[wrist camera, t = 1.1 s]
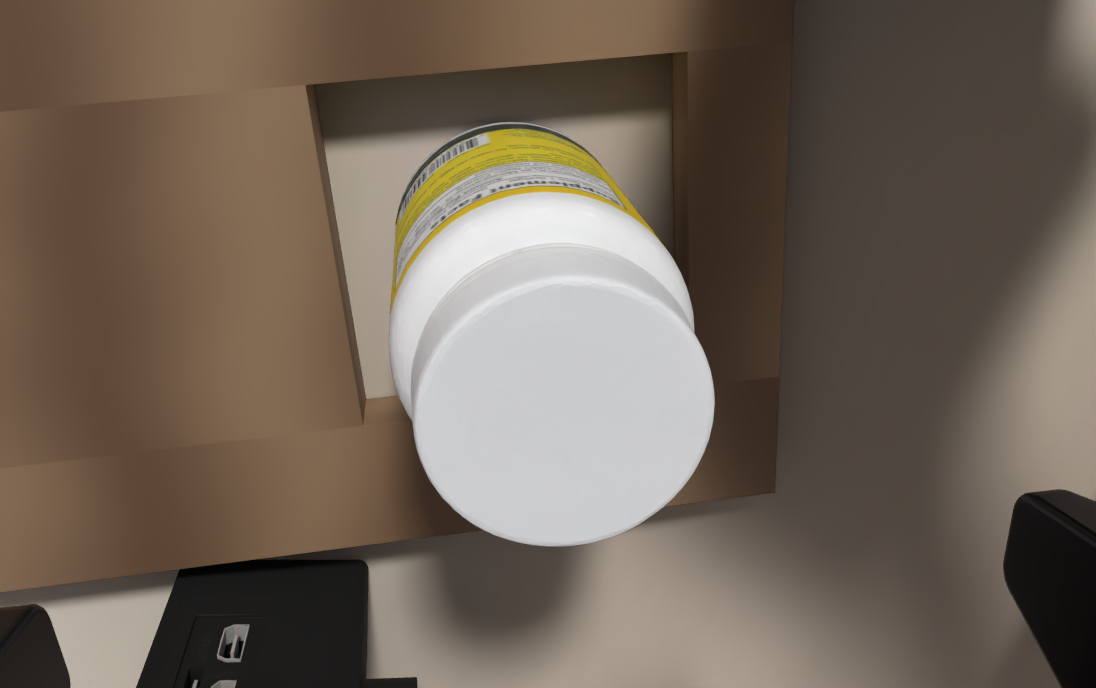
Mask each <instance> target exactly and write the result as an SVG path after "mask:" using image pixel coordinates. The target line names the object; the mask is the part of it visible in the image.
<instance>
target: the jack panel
mask: <svg viewBox="0 0 1096 688" xmlns="http://www.w3.org/2000/svg"><path fill="white" fill-rule="evenodd" d="M793 8H794V0H0V592H7V591H14V590H22V589H30V588H38V587H45V586H53V585H61V584H69V583H76V582H84V581H92V580H100V579H107V578H115V577H123V576H131V575H138V574H146V573H154V572H162V571H169V570H177V569H185V568H193V567H201V566H208V565H216V564H224V563H232V562H239V561H247V560H255V559H263V558H270V557H278V556H286V555H294V554H301V553H309V552H317V551H325V550H332V549H340V548H348V547H356V546H363V545H371V544H379V543H387V542H395V541H402V540H410V539H418V538H426V537H433V536H441V535H449V534H457V533H464V532H472V531H480V530H483V529H481V528H479V527H477V526H475V525H474V524H472V523H471V522H469V521H468V520H467V519H465V518H464V517H462V516H461V515H460V514H459V513H457V512H456V511H455V510H454V509H453V508H452V507H451V506H450V505H449V504H448V503H447V502H446V501H445V500H444V499H443V498H442V497H441V495H440V494H439V493H438V491H437V490H436V488H435V487H434V486H433V484H432V483H431V481H430V480H429V478H428V476H427V474H426V472H425V470H424V468H423V465H422V463H421V461H420V458H419V455H418V452H417V448H416V444H415V438H414V431H413V422H412V420H411V419H410V417H409V416H408V414H407V412H406V410H405V408H404V406H403V404H402V402H401V400H400V398H399V396H391V397H383V398H374V399H366V396H365V390H364V384H363V378H362V372H361V366H360V360H359V354H358V348H357V342H356V336H355V330H354V324H353V318H352V312H351V306H350V300H349V294H348V288H347V282H346V276H345V270H344V264H343V258H342V252H341V246H340V240H339V234H338V228H337V222H336V216H335V210H334V204H333V198H332V192H331V186H330V180H329V174H328V168H327V162H326V156H325V150H324V144H323V138H322V132H321V126H320V120H319V114H318V108H317V102H316V96H315V89H314V84H322V83H334V82H345V81H357V80H368V79H379V78H391V77H402V76H413V75H425V74H436V73H448V72H459V71H470V70H482V69H493V68H504V67H516V66H527V65H539V64H550V63H561V62H573V61H584V60H595V59H607V58H618V57H630V56H641V55H652V54H664V53H672V85H673V166H674V247H675V263H676V265H677V267H678V269H679V271H680V272H681V274H682V277H683V279H684V282H685V284H686V287H687V290H688V293H689V297H690V301H691V305H692V309H693V315H694V334H695V335H696V337H697V339H698V341H699V343H700V344H701V346H702V348H703V350H704V353H705V356H706V358H707V361H708V364H709V367H710V370H711V375H712V380H713V386H714V397H715V407H714V418H713V424H712V429H711V433H710V437H709V441H708V443H707V446H706V449H705V451H704V453H703V456H702V458H701V460H700V462H699V464H698V466H697V468H696V469H695V471H694V473H693V474H692V476H691V477H690V479H689V480H688V481H687V483H686V484H685V485H684V487H683V488H682V489H681V490H680V491H679V492H678V493H677V494H676V495H675V497H674V498H673V499H672V500H671V501H670V502H668V503H667V504H666V505H665V506H664V507H666V506H674V505H682V504H689V503H697V502H705V501H713V500H720V499H728V498H736V497H744V496H752V495H759V494H767V493H775V478H776V452H777V426H778V399H779V373H780V347H781V321H782V295H783V269H784V243H785V217H786V191H787V165H788V139H789V113H790V86H791V60H792V34H793Z"/></svg>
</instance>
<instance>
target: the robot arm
mask: <svg viewBox="0 0 1096 688" xmlns="http://www.w3.org/2000/svg"><path fill="white" fill-rule="evenodd" d="M1003 569H1004V577H1005V581H1006V584H1007V587H1008V589H1009V591H1010V593H1011V595H1012V597H1013V599H1014V601H1015V603H1016V605H1017V606H1018V608H1019V610H1020V612H1021V614H1022V616H1023V618H1024V619H1025V621H1026V623H1027V625H1028V627H1029V629H1030V631H1031V633H1032V634H1033V636H1034V638H1035V640H1036V642H1037V644H1038V646H1039V647H1040V649H1041V651H1042V653H1043V655H1044V657H1045V659H1046V661H1047V662H1048V664H1049V666H1050V668H1051V670H1052V672H1053V674H1054V676H1055V677H1056V679H1057V681H1058V683H1059V685H1060V687H1061V688H1096V501H1093V500H1091V499H1088V498H1086V497H1083V496H1080V495H1078V494H1075V493H1073V492H1070V491H1067V490H1060V489H1058V490H1048V491H1040V492H1031V493H1025V494H1024V495H1022V496H1020V497H1019V498H1018V500H1017V501H1016V503H1015V505H1014V509H1013V514H1012V519H1011V524H1010V530H1009V535H1008V540H1007V545H1006V551H1005V556H1004V563H1003ZM0 688H70V677H69V673H68V670H67V667H66V664H65V661H64V658H63V655H62V652H61V649H60V646H59V643H58V640H57V637H56V634H55V631H54V628H53V625H52V622H51V620H50V617H49V615H48V613H47V612H46V611H45V609H44V608H43V607H41V606H38V605H36V604H30V605H21V606H12V607H3V608H0Z"/></svg>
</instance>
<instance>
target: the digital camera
mask: <svg viewBox="0 0 1096 688" xmlns="http://www.w3.org/2000/svg"><path fill="white" fill-rule="evenodd" d="M367 605H368V566H367V564H366V563H365V562H364V561H362V560H358V559H357V560H247V561H239V562H232V563H224V564H216V565H208V566H201V567H193V568H185V569H180V570H179V572H178V575H177V578H176V581H175V583H174V586H173V589H172V591H171V594H170V597H169V600H168V602H167V605H166V608H165V611H164V613H163V616H162V619H161V621H160V624H159V627H158V630H157V632H156V635H155V638H154V640H153V643H152V646H151V649H150V651H149V654H148V657H147V659H146V662H145V665H144V668H143V670H142V673H141V676H140V678H139V681H138V684H137V687H136V688H418V687H417V678H416V677H411V678H383V679H366V657H367Z"/></svg>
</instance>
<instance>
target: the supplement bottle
mask: <svg viewBox="0 0 1096 688" xmlns="http://www.w3.org/2000/svg"><path fill="white" fill-rule="evenodd" d="M389 351H390V362H391V370H392V375H393V381H394V384H395V387H396V390H397V393H398V396H399V398H400V400H401V402H402V404H403V406H404V408H405V410H406V412H407V414H408V416H409V417H410V419H411V420H412V422H413V431H414V438H415V444H416V448H417V452H418V455H419V458H420V461H421V463H422V465H423V468H424V470H425V472H426V474H427V476H428V478H429V480H430V481H431V483H432V484H433V486H434V487H435V488H436V490H437V491H438V493H439V494H440V495H441V497H442V498H443V499H444V500H445V501H446V502H447V503H448V504H449V505H450V506H451V507H452V508H453V509H454V510H455V511H456V512H457V513H459V514H460V515H461V516H462V517H464V518H465V519H467V520H468V521H469V522H471V523H472V524H474V525H475V526H477V527H479V528H481V529H483V530H485V531H486V532H489V533H491V534H493V535H495V536H498V537H501V538H504V539H507V540H511V541H515V542H519V543H524V544H529V545H536V546H547V547H550V546H558V547H563V546H575V545H581V544H587V543H593V542H596V541H599V540H603V539H606V538H609V537H612V536H616V535H618V534H621V533H623V532H625V531H627V530H629V529H631V528H633V527H635V526H636V525H638V524H640V523H642V522H643V521H645V520H646V519H647V518H649V517H650V516H652V515H653V514H655V513H656V512H658V511H659V510H660V509H661V508H663V507H664V506H665V505H666V504H667V503H668V502H670V501H671V500H672V499H673V498H674V497H675V495H676V494H677V493H678V492H679V491H680V490H681V489H682V488H683V487H684V485H685V484H686V483H687V481H688V480H689V479H690V477H691V476H692V474H693V473H694V471H695V469H696V468H697V466H698V464H699V462H700V460H701V458H702V456H703V453H704V451H705V449H706V446H707V443H708V441H709V437H710V433H711V429H712V424H713V418H714V407H715V397H714V386H713V380H712V375H711V370H710V367H709V364H708V361H707V358H706V356H705V353H704V350H703V348H702V346H701V344H700V343H699V341H698V339H697V337H696V335H695V334H694V315H693V309H692V305H691V301H690V297H689V293H688V290H687V287H686V284H685V282H684V279H683V277H682V274H681V272H680V271H679V269H678V267H677V265H676V263H675V261H674V259H673V258H672V256H671V255H670V253H669V252H668V251H667V249H666V248H665V246H664V245H663V244H662V242H661V241H660V240H659V238H658V237H657V236H656V234H655V233H654V232H653V230H652V229H651V228H650V227H649V225H648V224H647V223H646V222H645V221H644V219H643V218H642V217H641V215H640V214H639V212H638V211H637V210H636V209H635V208H634V207H633V205H632V204H631V202H630V201H629V200H628V198H627V197H626V196H625V195H624V193H623V192H622V191H621V190H620V188H619V187H618V186H617V184H616V183H615V182H614V181H613V179H612V178H611V177H610V175H609V174H608V173H607V172H606V170H605V169H604V168H603V167H602V166H601V164H600V163H599V162H598V161H597V160H596V159H595V158H594V157H593V156H592V155H591V154H590V153H589V152H588V151H587V150H586V149H585V148H583V147H582V146H581V145H580V144H578V143H577V142H575V141H574V140H572V139H571V138H569V137H567V136H566V135H564V134H562V133H559V132H557V131H555V130H552V129H550V128H547V127H543V126H539V125H535V124H529V123H520V122H502V123H493V124H488V125H484V126H480V127H477V128H473V129H471V130H468V131H466V132H463V133H461V134H459V135H457V136H455V137H453V138H451V139H450V140H448V141H447V142H445V143H444V144H442V145H441V146H440V147H438V148H437V149H436V150H435V151H434V152H433V153H432V154H430V155H429V156H428V157H427V158H426V159H425V161H424V162H423V163H422V164H421V165H420V166H419V168H418V169H417V170H416V172H415V173H414V175H413V176H412V178H411V179H410V181H409V183H408V185H407V187H406V189H405V192H404V194H403V196H402V199H401V202H400V206H399V210H398V214H397V219H396V229H395V249H394V268H393V283H392V294H391V306H390V329H389Z"/></svg>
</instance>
